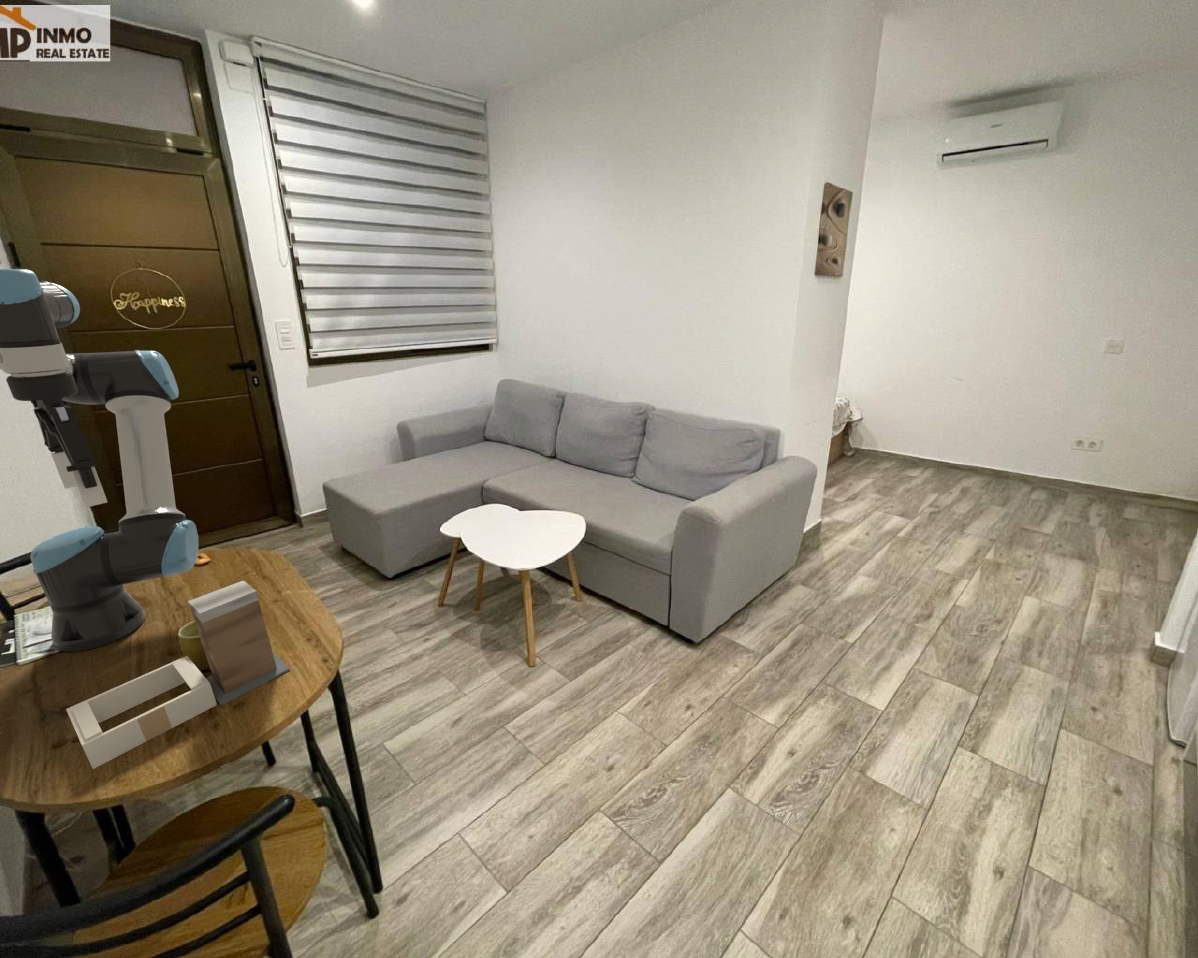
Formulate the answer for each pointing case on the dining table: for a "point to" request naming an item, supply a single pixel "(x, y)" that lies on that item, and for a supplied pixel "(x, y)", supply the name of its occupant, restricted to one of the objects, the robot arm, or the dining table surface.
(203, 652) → the mug
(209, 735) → the dining table surface
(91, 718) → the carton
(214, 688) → the mat
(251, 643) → the walnut box
